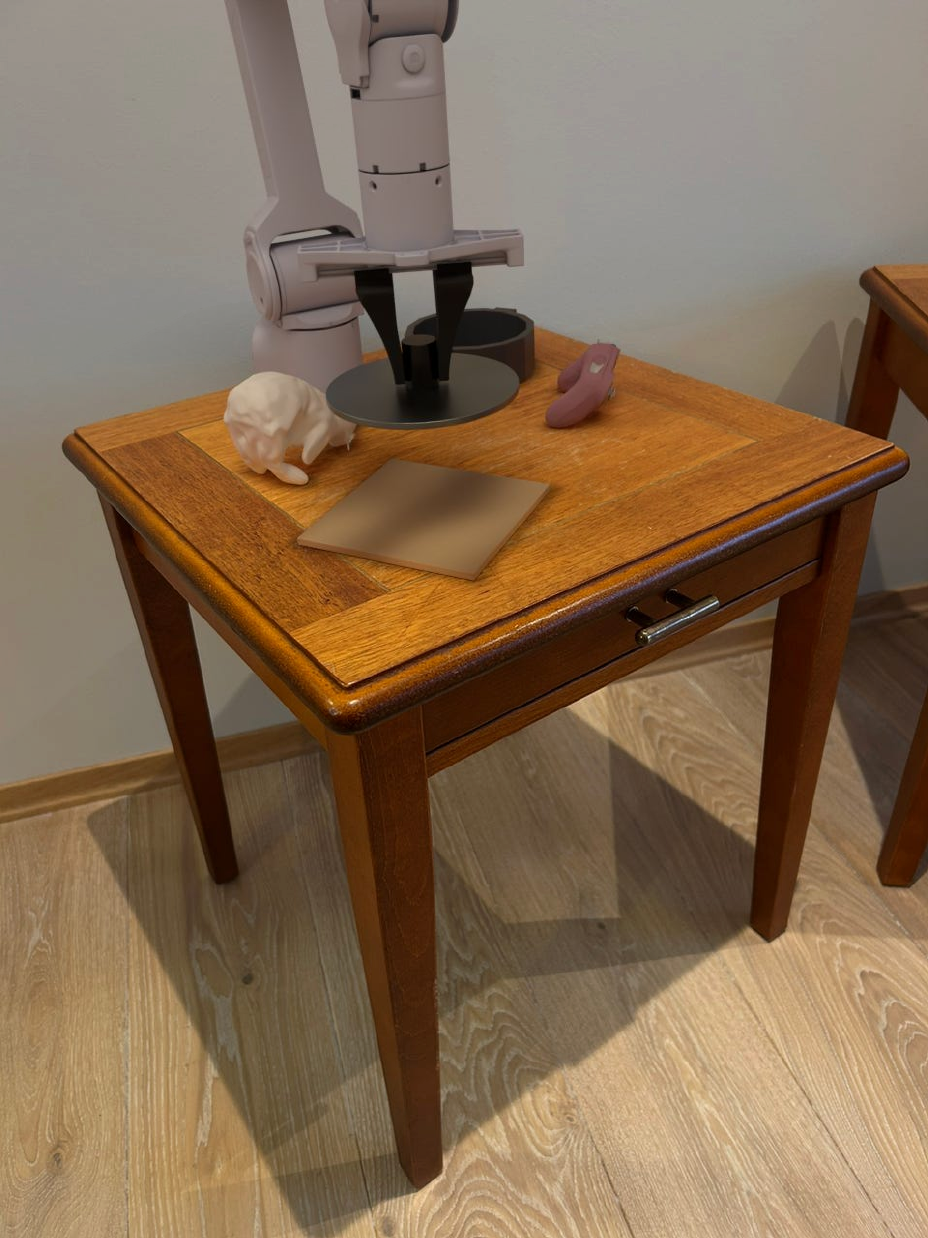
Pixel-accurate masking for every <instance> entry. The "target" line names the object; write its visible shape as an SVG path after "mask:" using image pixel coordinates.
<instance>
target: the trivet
mask: <svg viewBox="0 0 928 1238" xmlns="http://www.w3.org/2000/svg"><path fill="white" fill-rule="evenodd" d="M550 492H551V483H547V482H541V481H535V480H527V479H522V478H517V477H516V478H515V477H509V476H504V475H497V474H490V473H485V472H478V471H472V470H465V469H459V468H452V467H448V466H447V467H445V466H441V465H440V466H439V465H434V464H427V463H420V462H415V461H408V460H401V459H397V458H396V459H394V458H390V459H389V460H388V461H386V463H384V464H383V465H382V466H380V468H378V469H377V470H376V471H375V472H374V473H372V474H371V475H370V476H369V477H368V478H367V479H365V480H364V481H363V482H362V483H360V484H359V485H358V486H357V487H356V488H354V489H353V490H352V491H351V492H350V493H349V494H347V495H346V496H345V497H344V498H343V499H341V500H340V501H339V502H338V503H337V504H335V505H334V506H333V507H332V508H331V509H329V510H328V511H327V512H326V513H325V514H323V515H322V516H321V517H319V519H318V520H316V521H315V522H314V523H313V524H311V525H310V526H309V527H308V528H306V529H305V530H304V531H303V532H302V533H300V535H298V536H297V537H296V540H297V545H298V546H301V547H307V548H312V549H318V550H322V551H327V552H333V553H337V554H341V555H347V556H350V557H351V556H352V557H356V558H360V559H366V560H370V561H375V562H381V563H386V564H390V565H394V566H395V565H396V566H400V567H405V568H410V569H415V570H420V571H423V572H424V571H425V572H430V573H435V574H439V575H444V576H448V577H453V578H454V577H455V578H459V579H463V580H467V581H468V580H469V581H473V582H474V581H475V580H476V579H477V578H478V577H479V575H480V574H481V573H482V572H483V571H484V569H486V568H487V566H488V565H489V564H490V563H491V561H492V560H493V559H494V558H495V557H496V556H497V554H498V553H499V552H500V551H501V550H502V548H504V546H505V544H506V543H507V542H508V541H509V540H510V539H511V538H512V536H513V535H514V534H515V533H516V532H517V531H518V530H519V528H520V527H521V526H522V525H523V523H525V521H526V520H527V519H528V518H529V517H530V515H531V514H532V513H533V512H534V510H535V509H537V507H538V506H539V505H540V504H541V502H542V501H543V500H544V499H545V498H546V497H547V496H548V494H549V493H550Z"/></svg>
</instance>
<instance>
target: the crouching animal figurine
mask: <svg viewBox="0 0 928 1238" xmlns="http://www.w3.org/2000/svg"><path fill="white" fill-rule="evenodd" d="M226 401H227V402H226V409H225V411H224V414H223V421H222V422H223V423H224V425H225V426H226V428H227V430H228V433H229V435H230V438H231V440H232V444H233V445H234V447H235V449H236V450H237V452H238V454H239V456H240V457H241V459H242V460H243V461H242V462H243V463H244V464H245V465H246V466H247V467H248V468H250V469H251V470H252V471H253V472H255V473H257V474H260V475H263V474H264V473H266V472H267V471H268V470H269V471H270V473H272V474H273V475H274V476H275V477H277V478H278V479H279V480H280V481H282V482H284V483H287V484H293V485H298V486H299V485H301V486H302V485H305V484H307V483H308V481H309V477H308V475H307V473H305V471H303V470H301V468H299V467H297V466H295V465H294V464H291V463H286V462H284V461H285V454H286V451H287V450H288V449H289V448H290V447H291V448H299V447H301V448H303V449H302V452H301V460H302V463H304V464H305V465H308V466H309V465H311V464H312V463H313V461H315V459H316V458H317V457H318V456H319V455H320V454H321V452H322V451H323V450H324V449H325V447H326V446H327V445H328V444H329V445H330V446H331V447H332V448H338V447H339V446H344V447H346V446H347V450H348V451H350V446H351V445H352V443H351V442H352V440H353V439H354V438H355V437H356V432H355V430H356V428H357V427H358V424H354V423H351V422H348V421H346V420H344V419H342V418H340V417H338V416H337V415H335V414H334V413H333V412H332V411H331V410H330V409H329V408H328V405H327V403H326V394H324V393H321V392H320V391H319V390H318V389H316V388H314V387H312V386H310V385H309V383H307V382H305V381H303V380H301V379H299V378H296V377H293V376H290V375H285V374H282V373H278V372H262V373H258V374H256V373H254V374H252V375H251V376H250V377H248V378H247V379H244V380H243V381H241V383H239V384H237V385H235V386H234V387H233V388H231V390H230V392H229V395H228V397H227V400H226ZM351 448H352V446H351Z"/></svg>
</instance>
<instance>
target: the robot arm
mask: <svg viewBox="0 0 928 1238" xmlns="http://www.w3.org/2000/svg"><path fill="white" fill-rule="evenodd" d="M223 1H224V6H225V10H226V15H227V19H228V23H229V27H230V33H231V37H232V42H233V47H234V50H235V55H236V60H237V64H238V68H239V73H240V78H241V83H242V87H243V92H244V97H245V100H246V106H247V110H248V115H249V119H250V123H251V129H252V133H253V137H254V143H255V147H256V150H257V155H258V160H259V164H260V169H261V174H262V178H263V183H264V186H265V187H264V188H265V191H266V196H267V199H266V201H265V202H264V204H263V205H262V206H261V207H260V208H259V210H258V211H257V212H256V213H255V214H254V215H253V216H252V217H251V219H250V220H249V222H248V223H247V224H246V226H245V228H244V231H243V238H242V242H243V247H244V253H245V258H246V260H245V261H246V265H245V266H246V276H247V281H248V282H247V283H248V286H249V290H250V293H251V296H252V300H253V303H254V305H255V307H256V309H257V311H258V313H259V315H260V316H262V317H261V318H260V319H259V320H258V321H257V323H256V325H255V327H254V329H253V331H252V332H253V333H252V338H251V354H252V355H251V356H252V361H253V368H254V372H255V373H254V374H258V373H262V372H278V373H282V374H285V375H290V376H293V377H296V378H299V379H301V380H303V381H305V382H307V383H309V385H310V386H312V387H314V388H316V389H318V390H319V391H320V392H321V393H324V394H326V390H327V388H328V386H329V384H330V383H331V382H332V381H333V380H334V379H335V378H337V377H338V376H339V375H341V374H343V373H344V372H346V371H348V370H350V369H352V368H355V367H357V366H360V365H363V364H365V363H364V355H363V347H362V346H363V345H362V338H361V337H362V336H361V329H360V321H359V320H360V319H359V317H360V316H365V312H366V314H367V316H368V317H369V319H370V321H371V323H372V324H373V327H374V328H375V330H376V332H377V335H378V336H379V338H380V340H381V343H382V345H383V347H384V349H385V353H386V355H387V358H389V360H390V363H391V367H392V370H393V374H394V379H395V384H396V385H402V384H405V374H404V364H403V356H402V345H401V339H400V334H399V327H398V320H397V308H396V297H395V287H394V286H395V285H394V275H393V274H400V273H401V274H403V273H412V272H424V271H425V272H426V271H428V272H429V271H431V272H432V282H433V296H434V305H435V306H434V307H435V313H436V322H437V337H436V343H437V357H438V376H439V381H448V380H449V369H450V360H451V354H452V349H453V344H454V340H455V336H456V332H457V329H458V326H459V323H460V320H461V317H462V314H463V312H464V309H466V306H467V304H468V302H469V299H470V297H471V295H472V292H473V288H474V283H475V281H474V280H475V279H474V274H473V268H478V267H479V268H480V267H490V266H503V265H506V266H507V267H509V268H514V267H515V268H517V267H524V266H525V256H524V255H525V250H524V249H525V248H524V246H525V245H524V234H523V232H522V231H521V229H520V228H511V229H509V228H508V229H455V228H454V212H453V193H452V178H451V177H452V176H451V163H450V162H451V161H450V160H451V158H450V141H449V140H450V139H449V122H448V107H447V104H448V103H447V90H446V88H447V87H446V72H445V53H444V44H445V43H447V42H448V41H449V40H450V39H451V37H452V36H453V33H454V32H455V29H456V25H457V22H458V16H459V9H460V0H323V6H324V12H325V16H326V21H327V25H328V27H329V31H330V34H331V37H332V39H333V42H334V46H335V50H336V56H337V64H338V72H339V73H338V74H340V78H341V82H342V85H345V86H348V87H349V95H350V105H351V106H350V107H351V116H352V117H351V118H352V125H353V135H354V143H355V153H356V164H357V173H358V182H359V191H360V201H361V209H362V220H363V228H362V224H361V220H360V218H359V215H358V213H357V212H356V211H355V210H354V209H353V208H352V207H350V206H349V205H346V204H345V203H344V202H342V201H340V200H339V199H337V198H335V197H334V196H332V195H331V194H330V193H329V192H327V191H326V189H325V183H324V178H323V173H322V169H321V168H322V167H321V163H320V159H319V154H318V153H319V152H318V150H317V144H316V138H315V134H314V128H313V124H312V118H311V114H310V108H309V103H308V98H307V94H306V88H305V84H304V79H303V73H302V69H301V68H302V67H301V64H300V58H299V54H298V48H297V44H296V39H295V38H296V37H295V34H294V29H293V28H294V27H293V23H292V19H291V18H292V17H291V14H290V9H289V3H288V0H223ZM363 229H364V232H363ZM312 231H327V232H328V233H325V234H320V235H314V236H313V235H312V236H308V237H302V238H295V239H290V240H283V241H277V242H273V241H274V240H275V239H276V238H277V237H281V236H282V237H283V236H287V235H294V234H300V233H306V232H307V233H308V232H312Z"/></svg>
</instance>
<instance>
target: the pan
mask: <svg viewBox="0 0 928 1238" xmlns="http://www.w3.org/2000/svg"><path fill="white" fill-rule="evenodd" d="M517 311H518V310H517V308H509V307H500V306H499V307H497V306H496V307H494V308H491V307H475V308H474V307H473V308H465V309H464V312H463V314H462V317H461V320H460V323H459V326H458V329H457V332H456V336H455V340H454V344H453V349H452V353H461V354H470V355H476V356H481V357H486V358H489V359H493V360H496V361H498V362H501V363H503V364H505V365H507V366H508V367H510V368H511V369H513V370H514V372H515V373H516V374H517V376H518V378H519V385H520V384H523V383H524V382H527V380H529V379H530V378H531V377H532V376H533V375H534V373H535V370H536V363H535V361H536V360H535V357H536V355H535V321H534V320H533V319H531V318H530V317H529V316H527V315H525V314H524V313H520V312H517ZM420 334H425V335H431V336H434V337H435V338H436V337H437V322H436V312H435V313H432V314H428V315H425V316H423V317H420V318H419V317H418V318H417V319H416V320H414V321H413V322H411V323H410V324H408V325H407V326H406V328H405V332H404V338H405V337H408V336H412V335H420Z"/></svg>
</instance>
